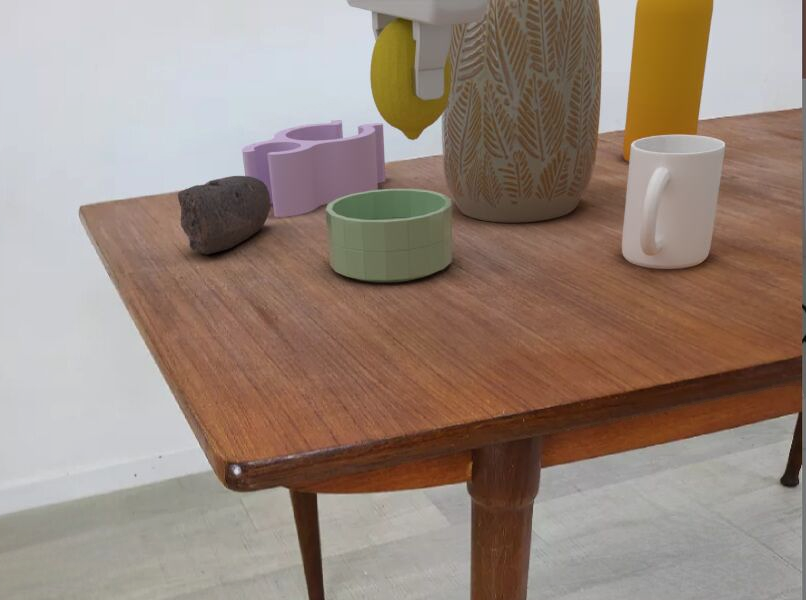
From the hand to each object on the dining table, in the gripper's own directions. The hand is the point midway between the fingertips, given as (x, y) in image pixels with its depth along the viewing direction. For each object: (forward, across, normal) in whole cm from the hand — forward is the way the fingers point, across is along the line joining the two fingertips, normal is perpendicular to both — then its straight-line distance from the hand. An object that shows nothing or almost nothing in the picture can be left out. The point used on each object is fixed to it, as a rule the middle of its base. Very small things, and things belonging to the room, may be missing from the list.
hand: (411, 91), depth 65 cm
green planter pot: (+19, +21, -4) cm, 29 cm away
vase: (+19, +36, -24) cm, 47 cm away
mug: (+19, +11, -28) cm, 36 cm away
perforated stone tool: (+19, +37, +9) cm, 43 cm away
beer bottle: (+19, +49, -50) cm, 73 cm away
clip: (+19, +53, -4) cm, 56 cm away
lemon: (+3, 0, 0) cm, 3 cm away
